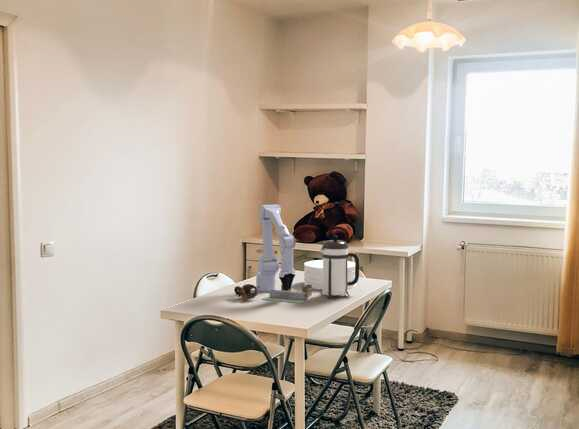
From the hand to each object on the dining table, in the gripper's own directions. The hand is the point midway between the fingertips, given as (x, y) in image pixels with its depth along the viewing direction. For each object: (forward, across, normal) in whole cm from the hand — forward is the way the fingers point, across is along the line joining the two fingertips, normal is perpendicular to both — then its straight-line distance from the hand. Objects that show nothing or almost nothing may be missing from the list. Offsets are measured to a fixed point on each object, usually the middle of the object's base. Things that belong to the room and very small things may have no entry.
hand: (287, 289), depth 298 cm
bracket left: (+5, +12, +6) cm, 14 cm away
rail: (+3, +2, 0) cm, 4 cm away
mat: (+5, 0, +1) cm, 5 cm away
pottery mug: (+5, -6, +19) cm, 20 cm away
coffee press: (+5, +18, -19) cm, 27 cm away
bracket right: (+5, +12, -6) cm, 14 cm away
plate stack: (+5, +43, -7) cm, 44 cm away
